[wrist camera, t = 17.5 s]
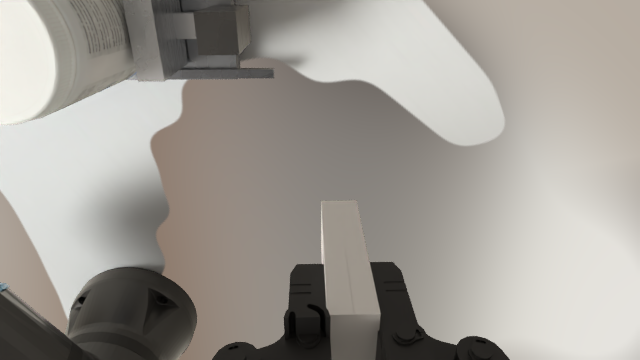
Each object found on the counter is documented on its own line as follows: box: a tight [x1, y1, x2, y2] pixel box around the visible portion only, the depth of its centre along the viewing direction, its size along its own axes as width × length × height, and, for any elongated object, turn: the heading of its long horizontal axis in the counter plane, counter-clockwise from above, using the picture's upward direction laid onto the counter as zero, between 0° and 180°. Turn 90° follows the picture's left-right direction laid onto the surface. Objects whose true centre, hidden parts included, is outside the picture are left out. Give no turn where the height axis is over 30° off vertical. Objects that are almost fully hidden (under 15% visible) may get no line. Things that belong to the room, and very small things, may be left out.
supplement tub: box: [0, 0, 137, 125], centre depth 30 cm, size 10×10×15 cm
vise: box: [126, 0, 275, 80], centre depth 35 cm, size 10×24×9 cm, turn 90°
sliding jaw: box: [122, 0, 251, 81], centre depth 33 cm, size 7×8×8 cm
